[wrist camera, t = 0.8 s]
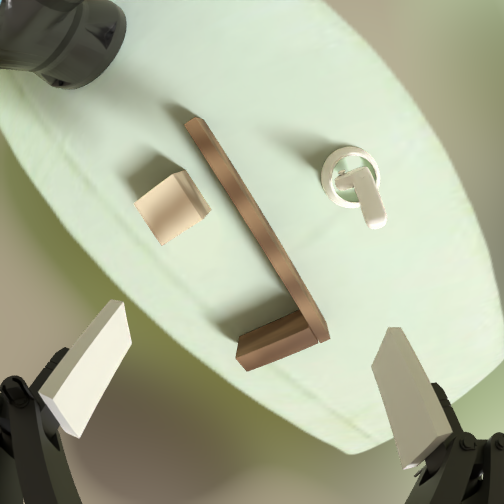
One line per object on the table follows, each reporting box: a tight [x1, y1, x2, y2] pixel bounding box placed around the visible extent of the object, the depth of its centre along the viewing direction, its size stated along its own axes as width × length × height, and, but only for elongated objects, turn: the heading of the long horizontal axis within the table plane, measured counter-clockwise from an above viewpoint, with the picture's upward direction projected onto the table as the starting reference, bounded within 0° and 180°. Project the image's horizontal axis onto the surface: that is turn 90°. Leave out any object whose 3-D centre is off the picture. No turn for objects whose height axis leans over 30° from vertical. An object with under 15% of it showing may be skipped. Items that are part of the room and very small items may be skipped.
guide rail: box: [184, 117, 330, 371], centre depth 34 cm, size 32×12×5 cm, turn 31°
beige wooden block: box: [134, 170, 211, 246], centre depth 32 cm, size 6×6×5 cm
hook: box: [321, 147, 387, 229], centre depth 30 cm, size 8×12×7 cm
